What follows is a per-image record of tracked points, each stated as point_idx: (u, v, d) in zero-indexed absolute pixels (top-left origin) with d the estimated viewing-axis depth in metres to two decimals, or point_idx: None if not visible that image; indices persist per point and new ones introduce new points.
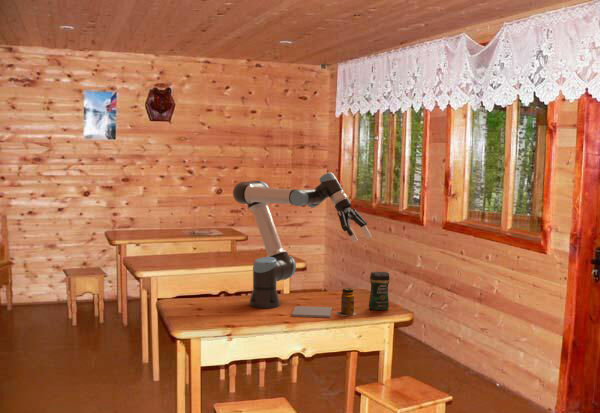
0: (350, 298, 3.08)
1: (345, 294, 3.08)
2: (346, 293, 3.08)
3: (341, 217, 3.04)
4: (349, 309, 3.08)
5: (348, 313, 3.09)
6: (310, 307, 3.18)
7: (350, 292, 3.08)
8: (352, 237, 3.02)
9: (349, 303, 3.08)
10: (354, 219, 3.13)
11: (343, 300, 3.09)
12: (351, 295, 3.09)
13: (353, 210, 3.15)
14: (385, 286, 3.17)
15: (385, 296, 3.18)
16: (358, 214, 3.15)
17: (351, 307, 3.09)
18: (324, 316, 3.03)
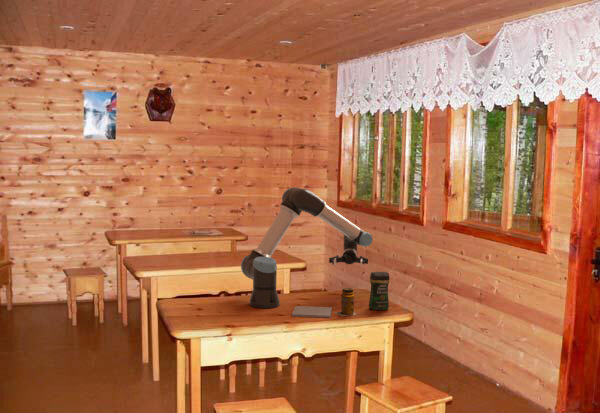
0: (350, 298, 3.08)
1: (345, 294, 3.08)
2: (346, 293, 3.08)
3: None
4: (349, 309, 3.08)
5: (348, 313, 3.09)
6: (310, 307, 3.18)
7: (350, 292, 3.08)
8: (362, 261, 3.32)
9: (349, 303, 3.08)
10: (341, 258, 3.42)
11: (343, 300, 3.09)
12: (351, 295, 3.09)
13: None
14: (385, 286, 3.17)
15: (385, 296, 3.18)
16: None
17: (351, 307, 3.09)
18: (324, 316, 3.03)
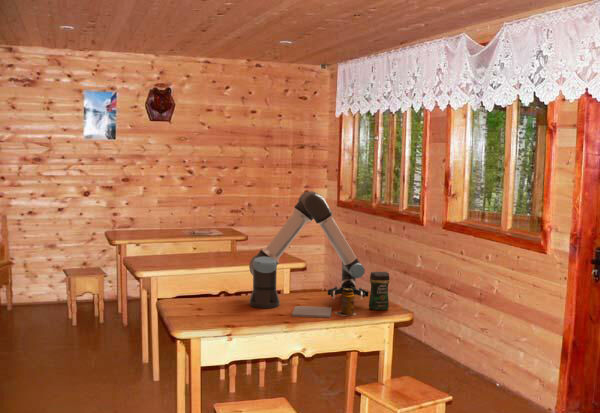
0: (350, 298, 3.08)
1: (345, 294, 3.08)
2: (346, 293, 3.08)
3: None
4: (349, 309, 3.08)
5: (348, 313, 3.09)
6: (310, 307, 3.18)
7: (350, 292, 3.08)
8: None
9: (349, 303, 3.08)
10: (340, 290, 3.28)
11: (343, 300, 3.09)
12: (351, 295, 3.09)
13: None
14: (385, 286, 3.17)
15: (385, 296, 3.18)
16: None
17: (351, 307, 3.09)
18: (324, 316, 3.03)
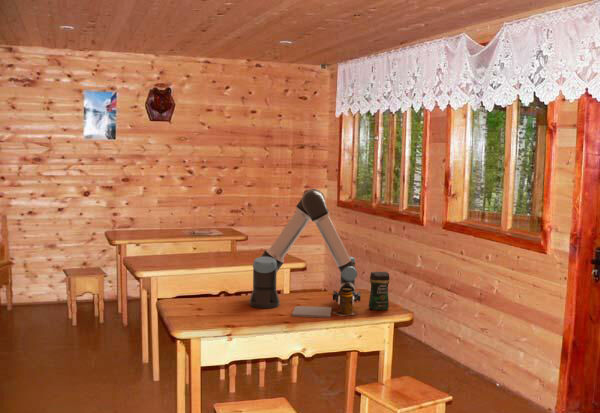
0: (349, 298, 3.08)
1: (343, 294, 3.08)
2: (344, 293, 3.08)
3: None
4: (348, 309, 3.08)
5: (346, 313, 3.09)
6: (310, 307, 3.18)
7: (349, 292, 3.08)
8: (354, 299, 3.07)
9: (347, 303, 3.08)
10: None
11: (341, 300, 3.09)
12: (349, 295, 3.08)
13: None
14: (385, 286, 3.17)
15: (385, 296, 3.18)
16: None
17: (349, 307, 3.09)
18: (324, 316, 3.03)
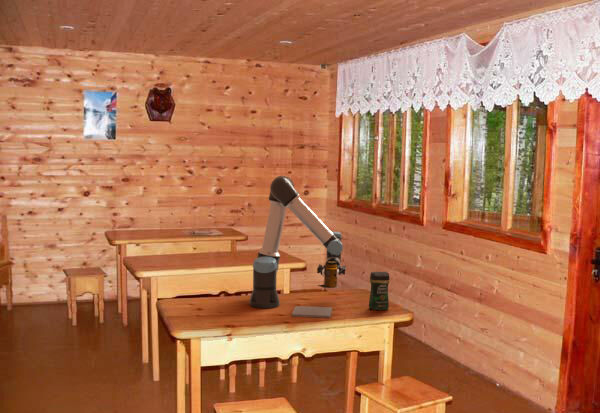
0: (333, 271, 3.07)
1: (328, 266, 3.08)
2: (329, 265, 3.07)
3: None
4: (332, 282, 3.07)
5: (331, 286, 3.08)
6: (310, 307, 3.18)
7: (333, 265, 3.07)
8: (338, 272, 3.06)
9: (332, 275, 3.07)
10: None
11: (326, 273, 3.08)
12: (334, 268, 3.08)
13: None
14: (385, 286, 3.17)
15: (385, 296, 3.18)
16: None
17: (334, 280, 3.08)
18: (324, 316, 3.03)
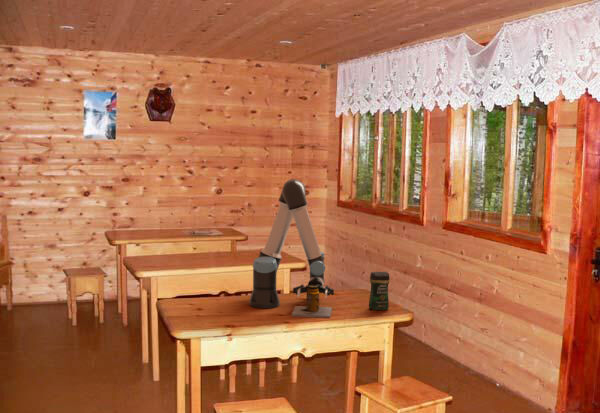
0: (315, 295, 3.08)
1: (310, 291, 3.09)
2: (311, 290, 3.09)
3: None
4: (314, 306, 3.09)
5: (313, 310, 3.09)
6: None
7: (315, 289, 3.09)
8: (327, 293, 3.09)
9: (314, 300, 3.09)
10: (306, 288, 3.19)
11: (308, 297, 3.09)
12: (316, 292, 3.09)
13: None
14: (385, 286, 3.17)
15: (385, 296, 3.18)
16: None
17: (316, 304, 3.09)
18: (324, 316, 3.03)
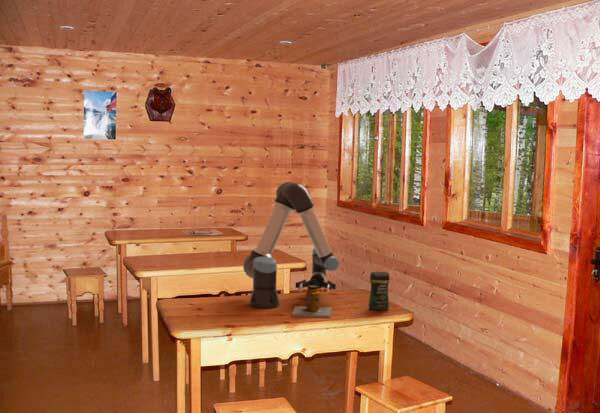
0: (315, 295, 3.08)
1: (310, 291, 3.09)
2: (311, 290, 3.09)
3: None
4: (314, 306, 3.09)
5: (313, 310, 3.09)
6: None
7: (315, 289, 3.09)
8: (329, 287, 3.21)
9: (314, 300, 3.09)
10: (309, 283, 3.31)
11: (308, 297, 3.09)
12: (316, 292, 3.09)
13: None
14: (385, 286, 3.17)
15: (385, 296, 3.18)
16: None
17: (316, 304, 3.09)
18: (324, 316, 3.03)
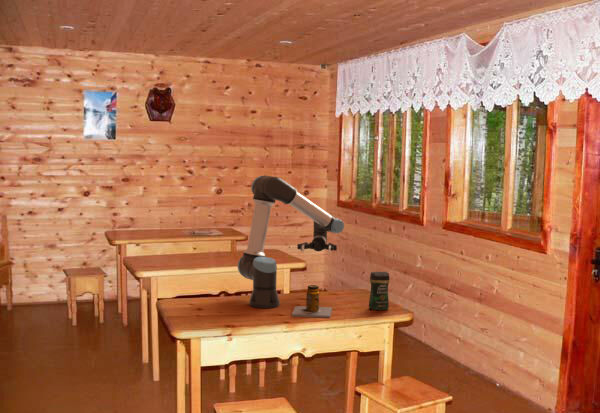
0: (315, 295, 3.08)
1: (310, 291, 3.09)
2: (311, 290, 3.09)
3: None
4: (314, 306, 3.09)
5: (313, 310, 3.09)
6: None
7: (315, 289, 3.09)
8: (330, 248, 3.27)
9: (314, 300, 3.09)
10: (310, 245, 3.37)
11: (308, 297, 3.09)
12: (316, 292, 3.09)
13: None
14: (385, 286, 3.17)
15: (385, 296, 3.18)
16: None
17: (316, 304, 3.09)
18: (324, 316, 3.03)
